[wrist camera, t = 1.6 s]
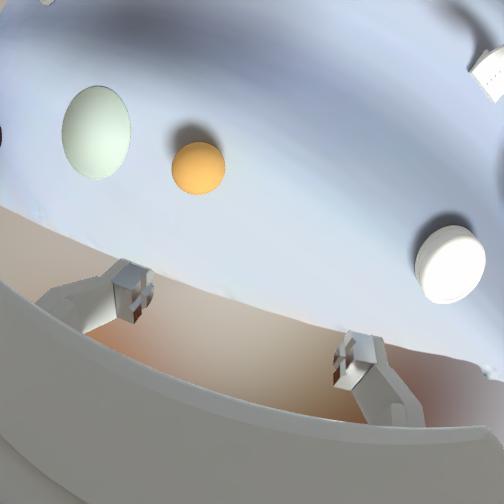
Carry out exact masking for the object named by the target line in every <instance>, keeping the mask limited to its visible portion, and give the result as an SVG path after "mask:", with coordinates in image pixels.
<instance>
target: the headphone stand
mask: <svg viewBox="0 0 504 504" xmlns="http://www.w3.org/2000/svg"><path fill="white" fill-rule="evenodd" d="M469 74H470V75H471V76H472V78H473V79H474V80H475V81H476V83H477V84H478V85H479V86H480V88H481V89H482V90H483V92H484V93H485V94H486V96H487V97H488V98H489V100H490V101H491V102H492V103H496V102H497V100H498V99H499V98H500V97H501V96H502V94H504V44H503V45H501V46H499V47H497V48H495V49H494V50H492V51H491V52H490V51H489V50H484V52H483V53H482V54H481V56H480V57H479V59H478V60H477V62H476V63H475V64H474V66H473V67H472V69H471V70H470V71H469Z"/></svg>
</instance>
